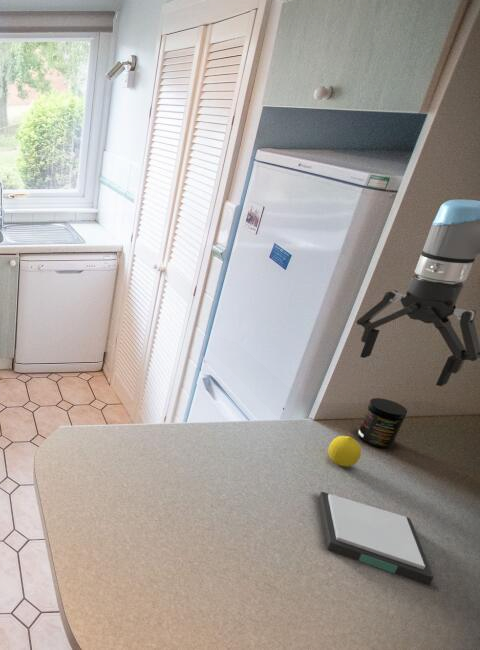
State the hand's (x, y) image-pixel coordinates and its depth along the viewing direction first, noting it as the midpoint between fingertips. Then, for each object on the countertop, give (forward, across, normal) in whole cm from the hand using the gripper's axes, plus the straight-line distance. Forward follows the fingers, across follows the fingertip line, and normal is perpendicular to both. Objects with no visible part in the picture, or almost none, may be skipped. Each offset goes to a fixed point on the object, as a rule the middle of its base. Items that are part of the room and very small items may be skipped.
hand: (401, 369), depth 100 cm
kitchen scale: (+22, +13, -29) cm, 39 cm away
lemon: (+22, 0, -12) cm, 25 cm away
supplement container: (+22, -1, +5) cm, 23 cm away
